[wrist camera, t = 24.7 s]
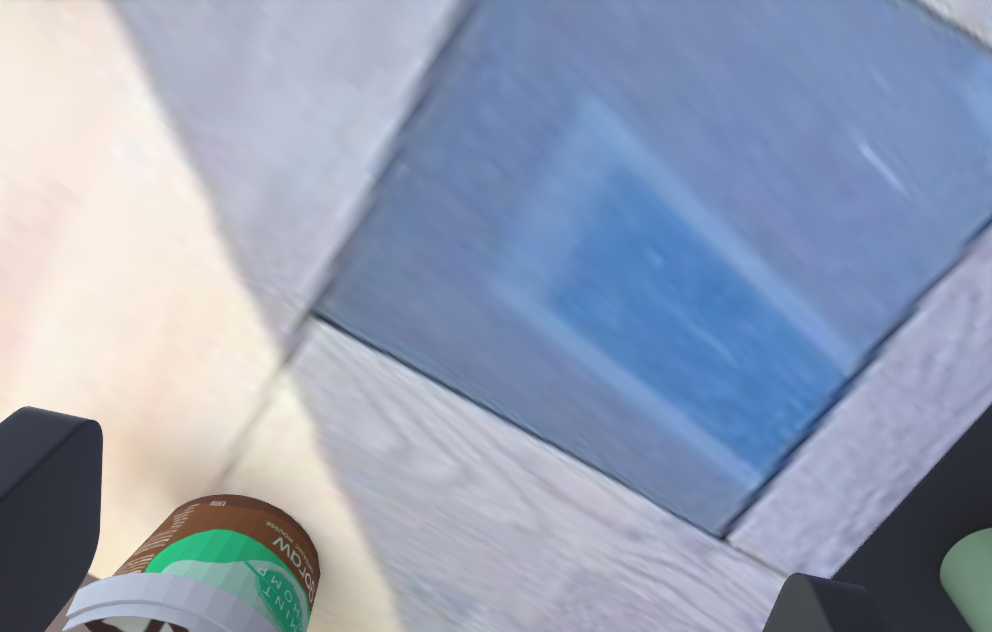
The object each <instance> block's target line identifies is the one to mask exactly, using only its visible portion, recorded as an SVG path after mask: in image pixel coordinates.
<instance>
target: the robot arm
mask: <svg viewBox="0 0 992 632" xmlns="http://www.w3.org/2000/svg"><path fill="white" fill-rule="evenodd" d="M102 452H103V434H102V429H101V426H100V425H99V423H98V422H97V421H95V420H90V419H86V418H81V417H76V416H72V415H67V414H62V413H58V412H53V411H48V410H44V409H39V408H34V407H30V406H27V407H23V408H20V409H19V410H17V411H16V412H14V413H13V414H12V415H10V416H9V417H8V418H6V419H5V420H4V421H3V422H1V423H0V632H44V631H45V630H46V629H47V627H48V626H49V625H50V624H51V622H52V621H53V620H54V619H55V617H56V616H57V615H58V613H59V612H60V611H61V610H62V608H63V607H64V606H65V605H66V603H67V602H68V601H69V599H70V598H71V597H72V596H73V594H74V593H75V592H76V590H77V589H78V588H79V586H80V585H81V583H82V582H83V580H84V578H85V576H86V574H87V572H88V570H89V568H90V566H91V563H92V561H93V558H94V555H95V552H96V549H97V545H98V540H99V533H100V511H101V482H102ZM763 632H891V630H890V628H889V626H888V625H887V623H886V621H885V619H884V617H883V616H882V614H881V612H880V610H879V608H878V607H877V605H876V603H875V601H874V599H873V598H872V596H871V594H870V593H869V592H868V591H867V590H866V589H865V588H864V587H862V586H858V585H853V584H849V583H844V582H839V581H835V580H830V579H825V578H821V577H816V576H811V575H807V574H802V573H794V574H792V575H791V576H790V577H789V578H788V579H787V580H786V581H785V583H784V585H783V587H782V589H781V591H780V593H779V595H778V598H777V600H776V602H775V604H774V607H773V609H772V611H771V613H770V616H769V618H768V620H767V623H766V625H765V627H764V629H763Z"/></svg>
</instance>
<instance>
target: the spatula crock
mask: <svg viewBox="0 0 992 632" xmlns="http://www.w3.org/2000/svg"><path fill="white" fill-rule="evenodd" d="M940 581H941V585H942V587H943V589H944V590H945V592H946V593H947V595H948V596H949V598H950V599H951V601H952V602H953V604H954V605H955V607H956V608H957V610H958V611H959V613H960V614H961V616H962V617H963V618H964V620H965V621H966V623H967V624H968V626H969V627H970V629H971V630H972V632H992V528H987V529H983V530H979V531H977V532H974V533H972V534H970V535H968V536H966V537H964V538H963V539H961V540H960V541H958V542H957V543H956V544H955V545H954V546H953V547H952V548H951V549H950V550H949V551H948V552H947V554H946V556H945V557H944V559H943V561H942V564H941V568H940Z"/></svg>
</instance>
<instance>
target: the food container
mask: <svg viewBox="0 0 992 632" xmlns="http://www.w3.org/2000/svg"><path fill="white" fill-rule="evenodd" d="M319 579H320V567H319V561H318V554H317V551H316V549H315V547H314V545H313V543H312V541H311V540H310V538H309V536H308V535H307V533H306V532H305V531H304V530H303V528H302V527H301V526H300V525H299V524H298V523H297V522H296V521H295V520H294V519H293V518H291V517H290V516H289V515H287V514H286V513H284V512H283V511H282V510H280V509H278V508H276V507H274V506H272V505H270V504H268V503H266V502H263V501H260V500H257V499H254V498H250V497H245V496H240V495H228V494H226V495H211V496H206V497H201V498H198V499H195V500H192V501H189V502H187V503H185V504H184V505H182V506H180V507H178V508H177V509H176V510H175V511H174V512H173V513H172V514H171V515H170V516H169V517H168V518H167V519H166V520H165V521H164V522H163V523H162V524H161V525H160V526H159V527H158V528H157V530H156V531H155V532H154V533H153V534H152V535H151V536H150V537H149V538H148V539H147V540H146V541H145V542H144V543H143V544H142V545H141V546H140V547H139V548H138V549H137V550H136V551H135V552H134V554H133V555H132V556H131V557H130V558H129V559H128V560H127V561H126V562H125V563H124V564H123V565H122V566H121V567H120V568H119V569H118V570H117V571H116V572H115V573H114V574H113V575H112V576H111V577H108V578H105V579H102V580H99V581H96V582H93V583H91V584H89V585H87V586H85V587H83V588H81V589H80V590H78V592H77V594H76V596H75V598H74V600H73V602H72V604H71V607H70V608H69V610H68V613H67V615H66V617H67V618H68V619H69V621H68V623H67V624H66V626H65V627H64V629H63V630H62V632H65V631H67V630H69V629H71V628H73V627H75V626H78V625H80V624H85V625H86V626H87V628H88V629H89V630H90V631H91V632H307V628H308V623H309V619H310V615H311V611H312V607H313V603H314V599H315V595H316V591H317V587H318V583H319Z"/></svg>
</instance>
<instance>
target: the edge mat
mask: <svg viewBox="0 0 992 632" xmlns="http://www.w3.org/2000/svg"><path fill="white" fill-rule="evenodd" d="M987 528H992V405H991V406H990V408H989V409H988V410H987V411H986V412H985V413H984V414H983V415H982V416H981V417H980V418H979V419H978V421H977V422H976V423H975V424H974V425H973V426H972V427H971V428H970V429H969V430H968V431H967V433H966V434H965V435H964V436H963V437H962V438H961V439H960V440H959V441H958V442H957V443H956V445H955V446H954V447H953V448H952V449H951V450H950V451H949V452H948V453H947V454H946V455H945V456H944V458H943V459H942V460H941V461H940V462H939V463H938V464H937V465H936V466H935V467H934V468H933V470H932V471H931V472H930V473H929V474H928V475H927V476H926V477H925V478H924V479H923V480H922V481H921V483H920V484H919V485H918V486H917V487H916V488H915V489H914V490H913V491H912V492H911V493H910V495H909V496H908V497H907V498H906V499H905V500H904V501H903V502H902V503H901V504H900V505H899V507H898V508H897V509H896V510H895V511H894V512H893V513H892V514H891V515H890V516H889V517H888V518H887V520H886V521H885V522H884V523H883V524H882V525H881V526H880V527H879V528H878V529H877V530H876V532H875V533H874V534H873V535H872V536H871V537H870V538H869V539H868V540H867V541H866V542H865V543H864V545H863V546H862V547H861V548H860V549H859V550H858V551H857V552H856V553H855V554H854V555H853V557H852V558H851V559H850V560H849V561H848V562H847V563H846V564H845V565H844V566H843V567H842V569H841V570H840V571H839V572H838V573H837V574H836V575H835V576H834V577H833V578H832V579H831V580H835V581H839V582H844V583H849V584H853V585H858V586H862V587H864V588H865V589H866V590H867V591H868V592H869V593H870V594H871V596H872V598H873V599H874V601H875V603H876V605H877V607H878V608H879V610H880V612H881V614H882V616H883V617H884V619H885V621H886V623H887V625H888V626H889V628H890V630H891V632H972V630H971V629H970V627H969V626H968V624H967V623H966V621H965V620H964V618H963V617H962V616H961V614H960V613H959V611H958V610H957V608H956V607H955V605H954V604H953V602H952V601H951V599H950V598H949V596H948V595H947V593H946V592H945V590H944V589H943V587H942V585H941V581H940V568H941V564H942V561H943V559H944V557H945V556H946V554H947V552H948V551H949V550H950V549H951V548H952V547H953V546H954V545H955V544H956V543H957V542H958V541H960V540H961V539H963V538H964V537H966V536H968V535H970V534H972V533H974V532H977V531H979V530H983V529H987Z"/></svg>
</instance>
